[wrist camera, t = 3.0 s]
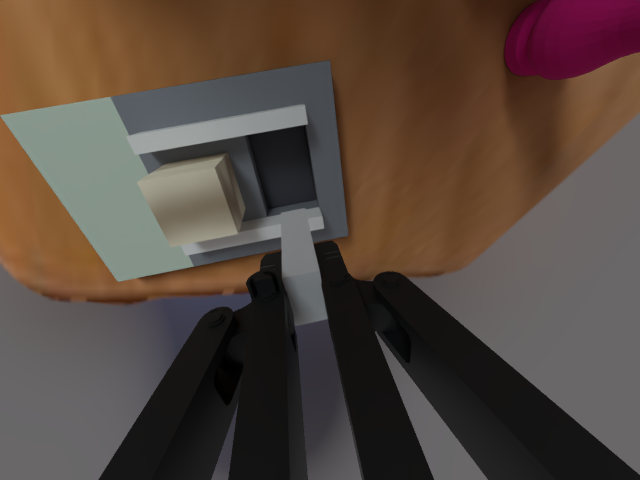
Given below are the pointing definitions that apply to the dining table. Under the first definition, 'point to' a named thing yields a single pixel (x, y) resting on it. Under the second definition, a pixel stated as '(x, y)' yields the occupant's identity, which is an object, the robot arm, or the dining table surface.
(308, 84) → the pit deck
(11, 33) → the dining table surface
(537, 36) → the pepper mill
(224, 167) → the maple block
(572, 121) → the dining table surface
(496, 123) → the dining table surface
